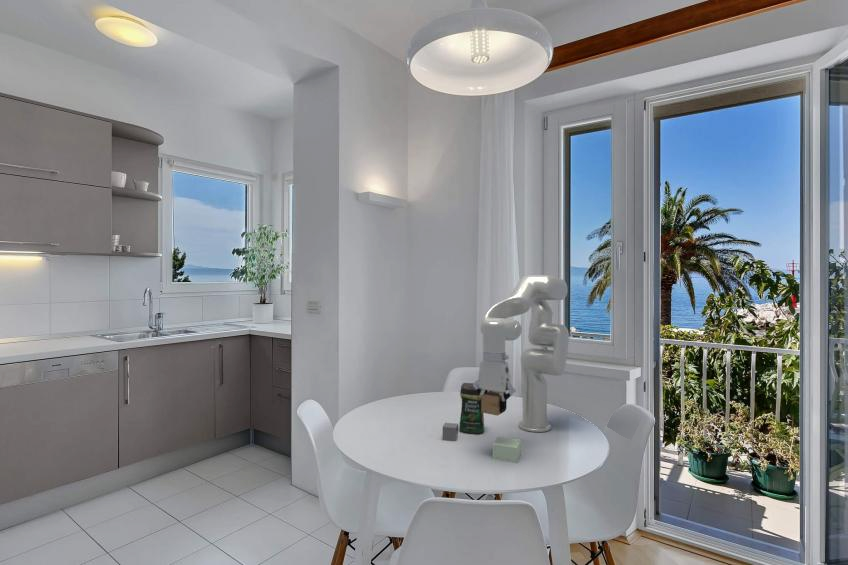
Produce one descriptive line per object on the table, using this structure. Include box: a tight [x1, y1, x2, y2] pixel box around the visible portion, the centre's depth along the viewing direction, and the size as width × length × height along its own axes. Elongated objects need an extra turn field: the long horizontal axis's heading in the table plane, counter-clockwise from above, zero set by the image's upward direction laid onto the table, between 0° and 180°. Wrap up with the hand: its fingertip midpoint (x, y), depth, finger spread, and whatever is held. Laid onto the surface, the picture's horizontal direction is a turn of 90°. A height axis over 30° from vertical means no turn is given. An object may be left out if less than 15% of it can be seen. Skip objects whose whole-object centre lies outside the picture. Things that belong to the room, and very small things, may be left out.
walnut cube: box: [481, 391, 502, 416], centre depth 151 cm, size 6×6×6 cm
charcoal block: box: [442, 422, 459, 442], centre depth 166 cm, size 5×5×5 cm
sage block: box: [492, 436, 522, 463], centre depth 149 cm, size 8×8×5 cm
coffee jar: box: [459, 382, 485, 434], centre depth 174 cm, size 10×8×19 cm
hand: (493, 409), depth 151 cm, fingers closed on walnut cube, 6 cm apart
